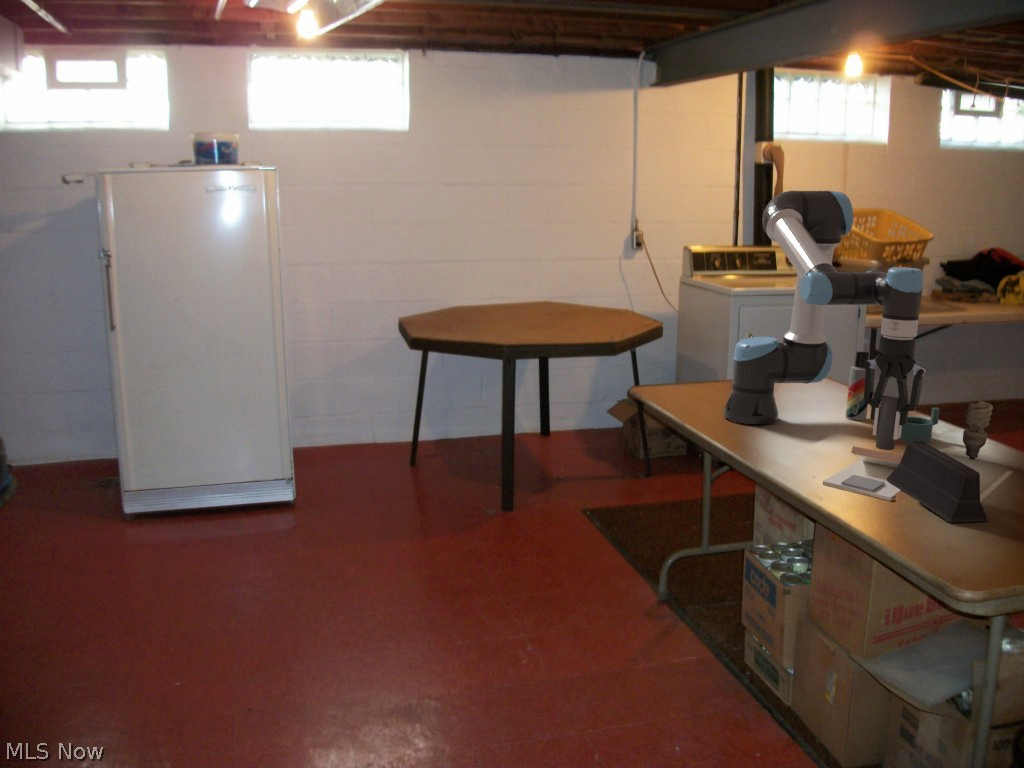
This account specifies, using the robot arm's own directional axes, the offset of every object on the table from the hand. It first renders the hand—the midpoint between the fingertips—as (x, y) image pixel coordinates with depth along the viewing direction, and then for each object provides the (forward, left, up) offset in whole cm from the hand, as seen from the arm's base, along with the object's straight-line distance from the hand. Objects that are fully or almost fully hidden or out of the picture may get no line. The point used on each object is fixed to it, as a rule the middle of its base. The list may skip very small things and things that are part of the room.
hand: (886, 435), depth 200 cm
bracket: (-5, +37, -10) cm, 39 cm away
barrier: (+15, -10, -9) cm, 20 cm away
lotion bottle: (-24, +46, -10) cm, 53 cm away
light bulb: (+12, +28, -10) cm, 32 cm away
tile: (0, +5, -8) cm, 10 cm away
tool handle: (0, 0, -3) cm, 3 cm away
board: (0, -3, -10) cm, 10 cm away
